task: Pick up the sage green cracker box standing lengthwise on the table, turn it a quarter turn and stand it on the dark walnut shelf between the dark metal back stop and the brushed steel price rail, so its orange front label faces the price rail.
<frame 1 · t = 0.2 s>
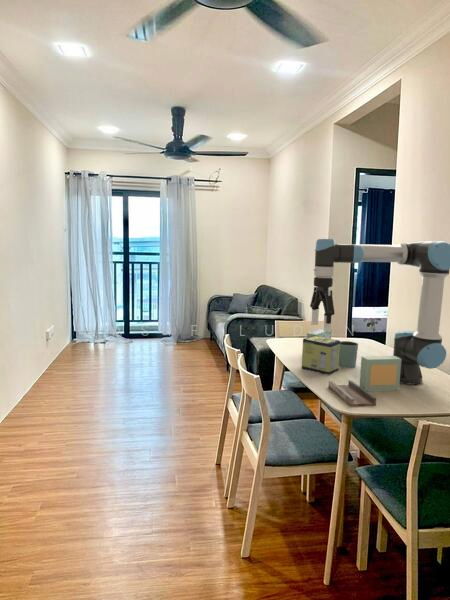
hand: (320, 328, 179), 28 cm above the table, tool pointing down, fingers open, 13 cm apart
cracker box: (379, 388, 190), on the table
facing shelf: (350, 396, 179), on the table
snack box: (317, 357, 239), on the table
green cup: (346, 366, 224), on the table
protein box: (319, 370, 216), on the table
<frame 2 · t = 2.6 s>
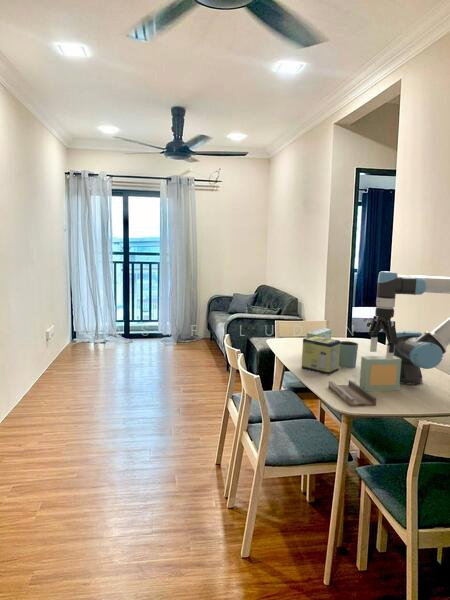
hand: (380, 355, 188), 15 cm above the table, tool pointing down, fingers open, 13 cm apart
nothing on the table moved.
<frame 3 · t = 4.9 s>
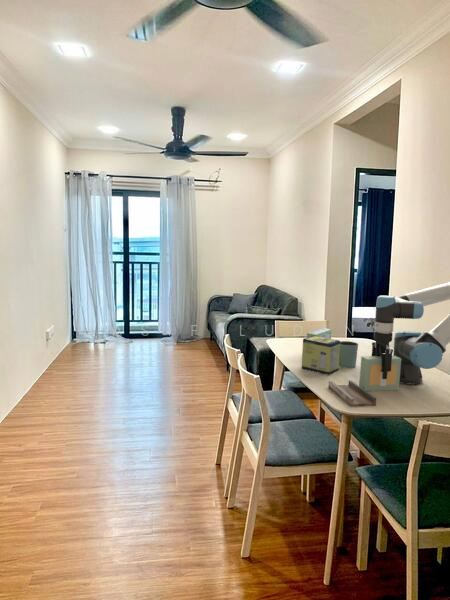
hand: (379, 383, 190), 2 cm above the table, tool pointing down, fingers closed on cracker box, 5 cm apart
cracker box: (378, 388, 190), on the table, touching gripper
everything else where it was.
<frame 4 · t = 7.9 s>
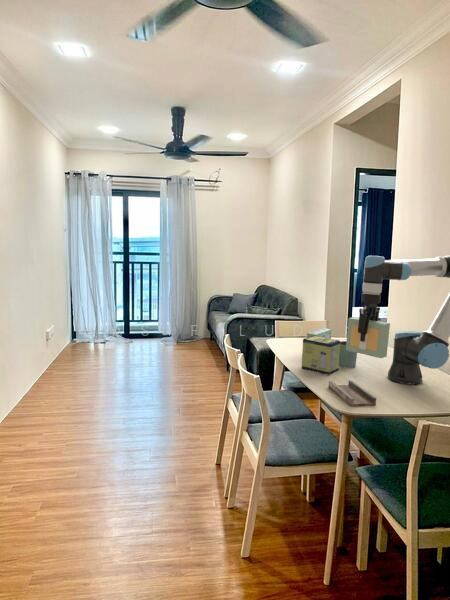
hand: (366, 347, 182), 19 cm above the table, tool pointing down, fingers closed on cracker box, 5 cm apart
cracker box: (365, 353, 182), point 17 cm above the table, touching gripper
everything else where it was.
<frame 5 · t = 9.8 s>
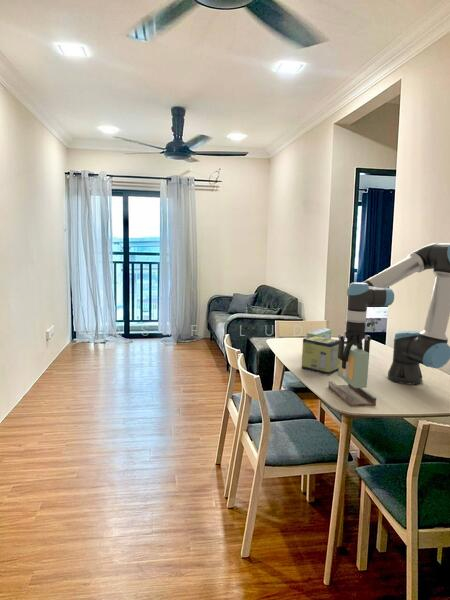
hand: (351, 376, 178), 9 cm above the table, tool pointing down, fingers closed on cracker box, 5 cm apart
cracker box: (351, 381, 178), point 6 cm above the table, touching gripper
everything else where it was.
when the fingers open (4 cm above the table, at t = 11.4 s): cracker box stays where it is, resting on facing shelf.
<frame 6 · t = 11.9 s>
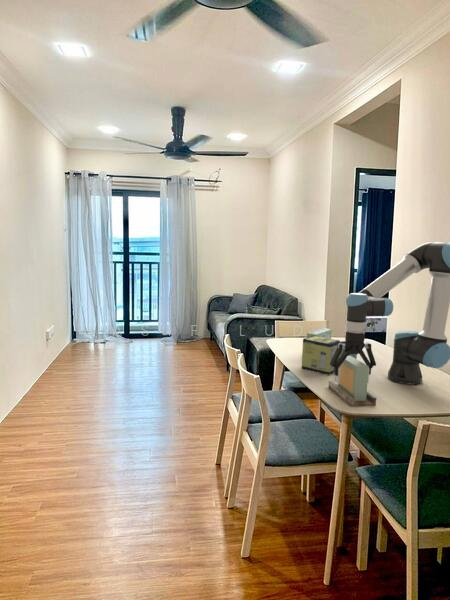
hand: (351, 382, 178), 6 cm above the table, tool pointing down, fingers open, 12 cm apart
cracker box: (351, 393, 179), point 1 cm above the table, touching facing shelf
everything else where it was.
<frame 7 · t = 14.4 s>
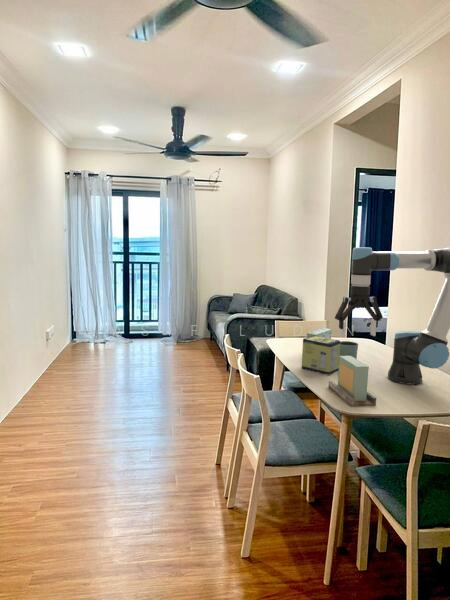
hand: (357, 336, 180), 25 cm above the table, tool pointing down, fingers open, 13 cm apart
nothing on the table moved.
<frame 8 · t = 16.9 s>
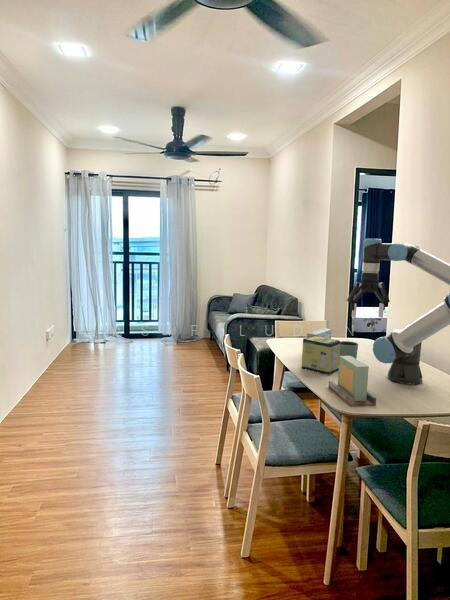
hand: (367, 317, 203), 29 cm above the table, tool pointing down, fingers open, 13 cm apart
nothing on the table moved.
at the end: cracker box 0.2 cm off-centre on the facing shelf, point 1.0 cm above the facing shelf's base; cracker box tilted 0°; the gripper is holding nothing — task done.
